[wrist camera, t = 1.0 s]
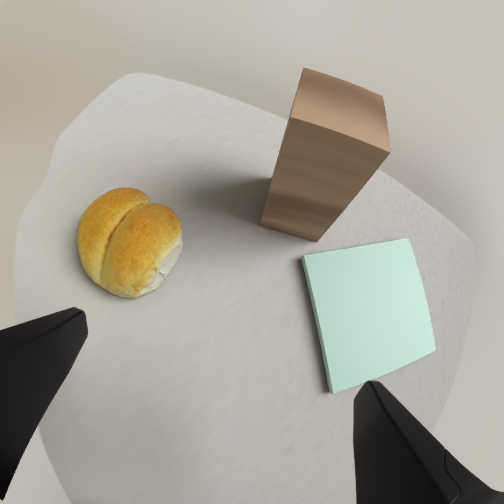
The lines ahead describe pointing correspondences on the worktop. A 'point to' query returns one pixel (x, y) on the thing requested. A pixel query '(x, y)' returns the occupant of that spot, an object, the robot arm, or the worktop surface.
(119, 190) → the bread roll
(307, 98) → the walnut block
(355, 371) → the green board
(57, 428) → the worktop surface
